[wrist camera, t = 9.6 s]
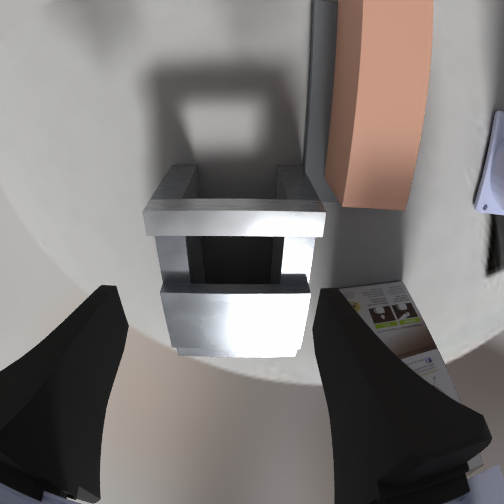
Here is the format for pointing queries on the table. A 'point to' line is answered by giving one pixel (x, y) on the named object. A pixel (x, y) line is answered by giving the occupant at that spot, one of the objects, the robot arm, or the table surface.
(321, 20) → the pad
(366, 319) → the coffee box
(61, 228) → the table surface
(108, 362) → the robot arm
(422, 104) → the salmon rectangular block
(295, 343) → the dispenser
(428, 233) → the table surface
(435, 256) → the table surface
